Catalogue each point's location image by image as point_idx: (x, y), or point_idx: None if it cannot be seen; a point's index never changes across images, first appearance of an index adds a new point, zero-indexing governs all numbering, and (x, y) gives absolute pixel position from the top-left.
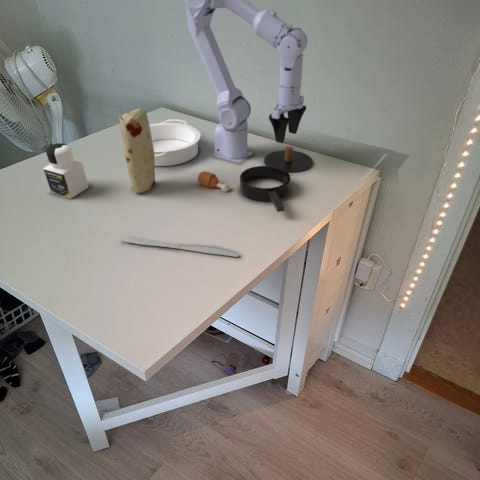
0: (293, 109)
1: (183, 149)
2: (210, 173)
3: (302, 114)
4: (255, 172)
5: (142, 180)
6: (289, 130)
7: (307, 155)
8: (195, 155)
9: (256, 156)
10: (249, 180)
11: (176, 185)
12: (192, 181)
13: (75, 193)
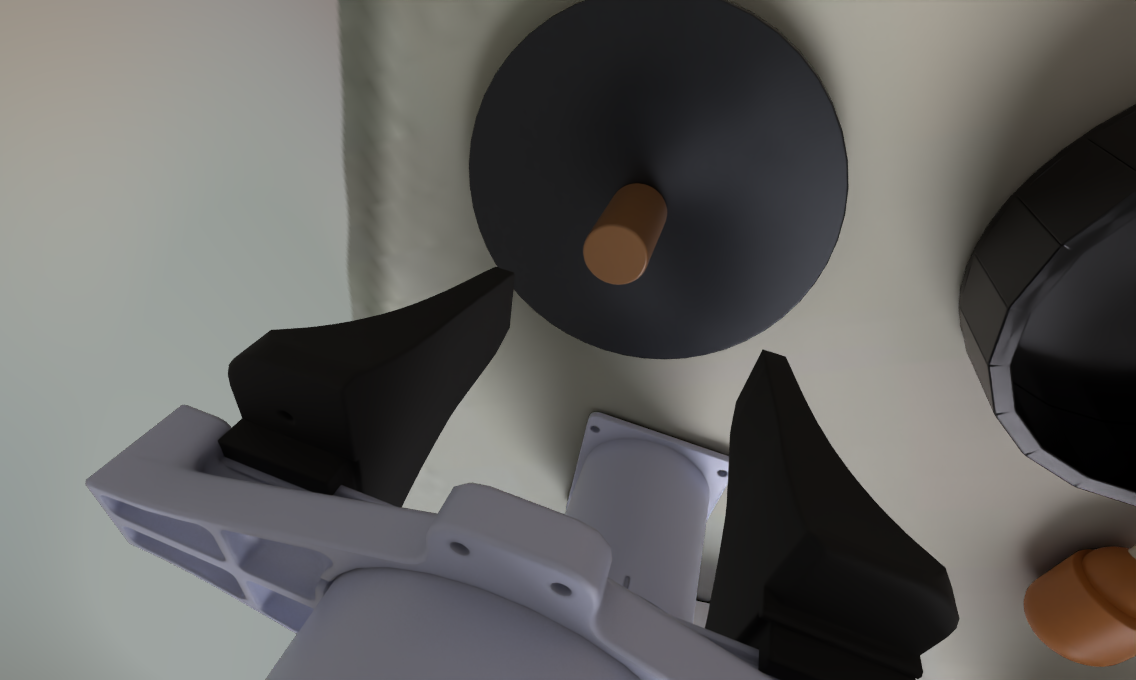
0: (663, 614)
1: None
2: (1123, 640)
3: (358, 332)
4: (1020, 405)
5: None
6: (501, 336)
7: (499, 81)
8: (707, 605)
9: (608, 390)
10: (1036, 402)
11: (1057, 665)
12: (1002, 617)
13: None
